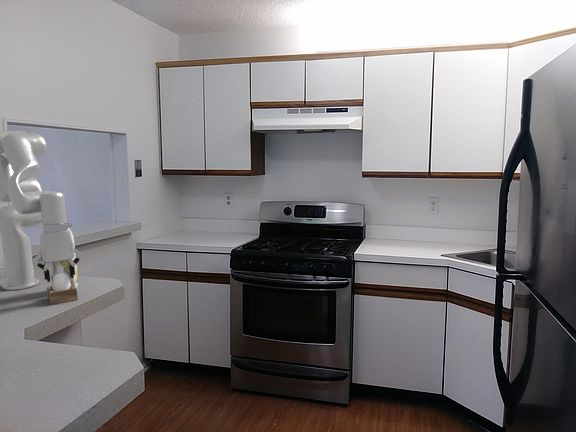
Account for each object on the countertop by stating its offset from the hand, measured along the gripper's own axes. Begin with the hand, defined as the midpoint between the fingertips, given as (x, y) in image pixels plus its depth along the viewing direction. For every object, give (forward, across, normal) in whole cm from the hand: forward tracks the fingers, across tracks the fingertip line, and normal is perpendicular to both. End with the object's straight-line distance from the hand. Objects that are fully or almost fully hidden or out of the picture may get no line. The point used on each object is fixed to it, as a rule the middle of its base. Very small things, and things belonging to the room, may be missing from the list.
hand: (60, 278), depth 159 cm
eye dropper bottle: (+6, 0, 0) cm, 6 cm away
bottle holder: (+7, 0, 0) cm, 7 cm away
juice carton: (+7, -3, -11) cm, 14 cm away
